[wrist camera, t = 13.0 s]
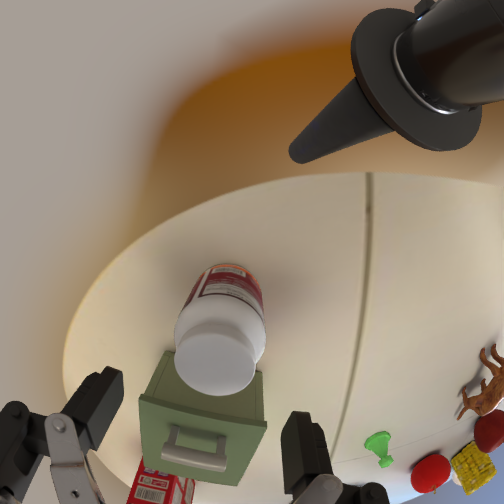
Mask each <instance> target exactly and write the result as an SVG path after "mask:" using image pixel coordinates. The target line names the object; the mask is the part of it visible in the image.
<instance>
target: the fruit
mask: <svg viewBox="0 0 504 504" xmlns="http://www.w3.org/2000/svg"><path fill="white" fill-rule="evenodd" d="M450 472H451V466H450V463H449V461H448V460H447V459H446V458H445V457H444V456H442V455H438V454H434V455H430V456H428V457H426V458H425V459H423V460H422V461H420V462H419V463H418V464H417V465H416V466H415V467H414V469H413V471H412V474H411V484H412V486H413V488H414V489H415V490H416V491H417V492H419V493H428V492H431V491H433V490H434V494H435V493H436V492H435V491H436V490H435V489H436V488H438V487H439V486H441V485H442V484H443V483H444V482H446V481H447V479H448V478H449V476H450Z"/></svg>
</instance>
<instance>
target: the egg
mask: <svg viewBox="0 0 504 504" xmlns="http://www.w3.org/2000/svg"><path fill="white" fill-rule="evenodd" d="M457 476H458V475H456V473H455V470H454V472H453V475H452V479H453V481H454V483H455V484H457V485H461V482H460V481H459V479H458V478H457Z"/></svg>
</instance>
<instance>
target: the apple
mask: <svg viewBox="0 0 504 504" xmlns="http://www.w3.org/2000/svg"><path fill="white" fill-rule="evenodd" d="M474 438H475V442H476V445H477V447H478V449H479V450H480V451H481V452H483V453H490V452H492V451H494V450H495V449H496V448H497V447H499V446H500V445H501V444H502V443H504V411H501V410H497V409H494V410H493V411H492V412H490V413H489V414H487V415H485V416H482V417H481V418H480V419H479V420H478V421H477V422H476V424H475V428H474Z"/></svg>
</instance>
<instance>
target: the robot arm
mask: <svg viewBox="0 0 504 504" xmlns="http://www.w3.org/2000/svg"><path fill="white" fill-rule="evenodd" d="M414 10H415V19H416V20H415V21H414V22H412V23H411V24H410V25H409V26H408V27H407V28H406V29H405V32H403V33H401V34H400V35H399V36H398V37H397V38H396V39H395V40H394V41H393V43H392V46H391V62H392V65H393V68H394V71H395V73H396V75H397V77H398V79H399V81H400V83H401V84H402V86H403V87H404V89H405V90H406V91H407V92H408V94H409V95H410V96H411V97H412V98H413V99H414V100H415V101H416V102H417V103H418V104H420V105H421V106H422V107H424V108H425V109H427V110H429V111H431V112H433V113H435V114H439V115H449V114H452V113H456V112H458V111H460V110H463V109H467V108H470V109H469V110H468V112H469V111H473V110H476V109H477V107H478V106H480V105H484V104H488V103H492V102H497V101H501V100H504V0H438V1H437V2H434V1H433V0H421V1H420V2H419V3H418V4H417V5H416V6H415V7H414ZM123 397H124V386H123V373H122V371H120V370H117V369H115V368H112V367H109V366H106V367H105V368H104V370H103V371H102V373H101V374H99V373H97V372H94V373H92V374H90V375H89V376H87V377H86V378H85V379H84V381H83V382H82V384H81V385H80V386H79V388H78V389H77V391H76V392H75V393H74V394H73V396H72V397H71V399H70V400H69V401H68V403H67V404H66V405H65V407H64V408H63V410H62V411H61V412H60V413H53V414H51V415H49V416H43V415H40V414H36V413H32V412H29V410H28V408H27V406H26V405H25V404H24V403H22V402H20V401H11V402H9V403H7V404H6V405H5V407H4V408H3V409H2V411H1V412H0V504H22V501H23V499H24V496H25V494H26V492H27V490H28V488H29V485H30V483H31V481H32V479H33V477H34V475H35V473H36V471H37V468H38V466H39V464H40V462H41V460H42V458H43V456H44V455H45V456H48V457H50V458H51V465H50V471H51V475H52V479H53V483H54V487H55V490H56V493H57V496H58V500H59V502H60V504H106V503H105V501H104V498H103V496H102V494H101V492H100V490H99V488H98V485H97V483H96V480H95V478H94V475H93V472H92V469H91V467H90V464H89V461H88V457H87V455H86V454H87V452H88V450H89V449H92V450H95V451H97V450H98V448H99V446H100V444H101V442H102V440H103V438H104V436H105V434H106V432H107V430H108V428H109V426H110V424H111V422H112V420H113V418H114V417H115V415H116V413H117V411H118V409H119V407H120V405H121V403H122V401H123ZM281 450H282V463H283V477H284V490H285V494H292V495H293V500H292V501H291V502H290V503H289V504H390V503H389V499H388V495H387V492H386V489H385V488H384V487H383V486H382V485H381V484H379V483H375V482H371V483H367V484H365V485H364V486H363V487H358V486H352V485H347V484H344V483H342V482H341V480H340V479H339V478H338V477H336V476H334V474H333V471H332V466H331V462H330V457H329V453H328V448H327V444H326V441H325V435H324V431H323V430H322V428H321V427H320V426H319V424H318V423H312V421H311V416H310V413H309V412H300V411H293V412H292V413H291V415H290V417H289V418H288V420H287V422H286V424H285V426H284V428H283V430H282V433H281ZM129 504H131V503H129Z"/></svg>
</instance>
